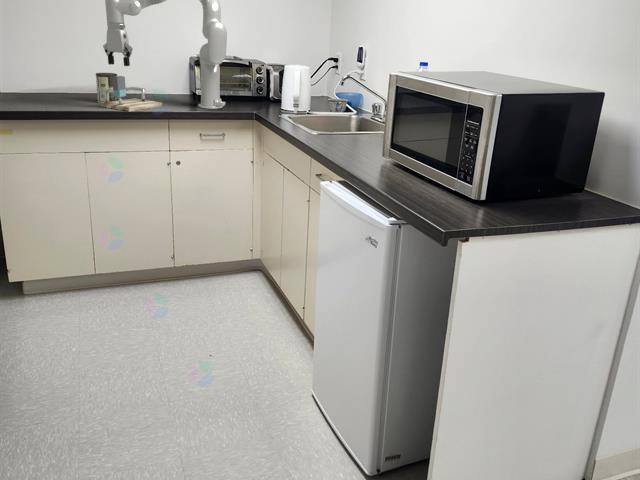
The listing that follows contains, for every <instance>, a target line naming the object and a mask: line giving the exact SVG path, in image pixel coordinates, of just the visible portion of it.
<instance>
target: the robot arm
mask: <svg viewBox="0 0 640 480" xmlns="http://www.w3.org/2000/svg"><path fill="white" fill-rule="evenodd" d="M166 1H167V0H104V2H105V15H106V16H105V17H106V27H107V30H106V43H105V44H103V45H102V48H103V49H104V50H103V51H104V52H105V53H106V57H107V62H108V65H114V64H115V55H114V53H121V54H122V55H123V56H122V57H123V66H124V67H130V65H131V64H130V57H131V55H132V53H133V47H132V46H131V45H130V43H129V37H128V36H129V35H128V33H127V30H126V29H125V28H126V24H125V18H124V17H125V16H126V15H127V16H138V15H139V14H140V13H141V12H142V10H143V9H146V8H147V7H150V6H153V5H159V4H162V3H164V2H166ZM199 3H201V5H202V15H203V16H202V31H201V33H202V36H203V37H204V38H205V39H207V42H206V43H204V44H203V45H201V46H200V48H199V53H198V54H199V62H200V103H198V104H197V108H200V109H207V110H208V109H212V110H215V109H216V110H218V109H222V108H223V107H224V106H226V101H222V98H221V96H220V95H221V91H220V90H221V88H220V87H221V86H220V85H221V79H220V78H221V69H220V68H221V67H220V65H221V64H222V63H223V62H224V61H225V60H226V56H227V44H228V42H227V41H228V32H227V28H226V26H225V24H224V23H223V22H221V21H222V19H221V14H222V13H221V3H220V0H199ZM124 15H125V16H124Z"/></svg>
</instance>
